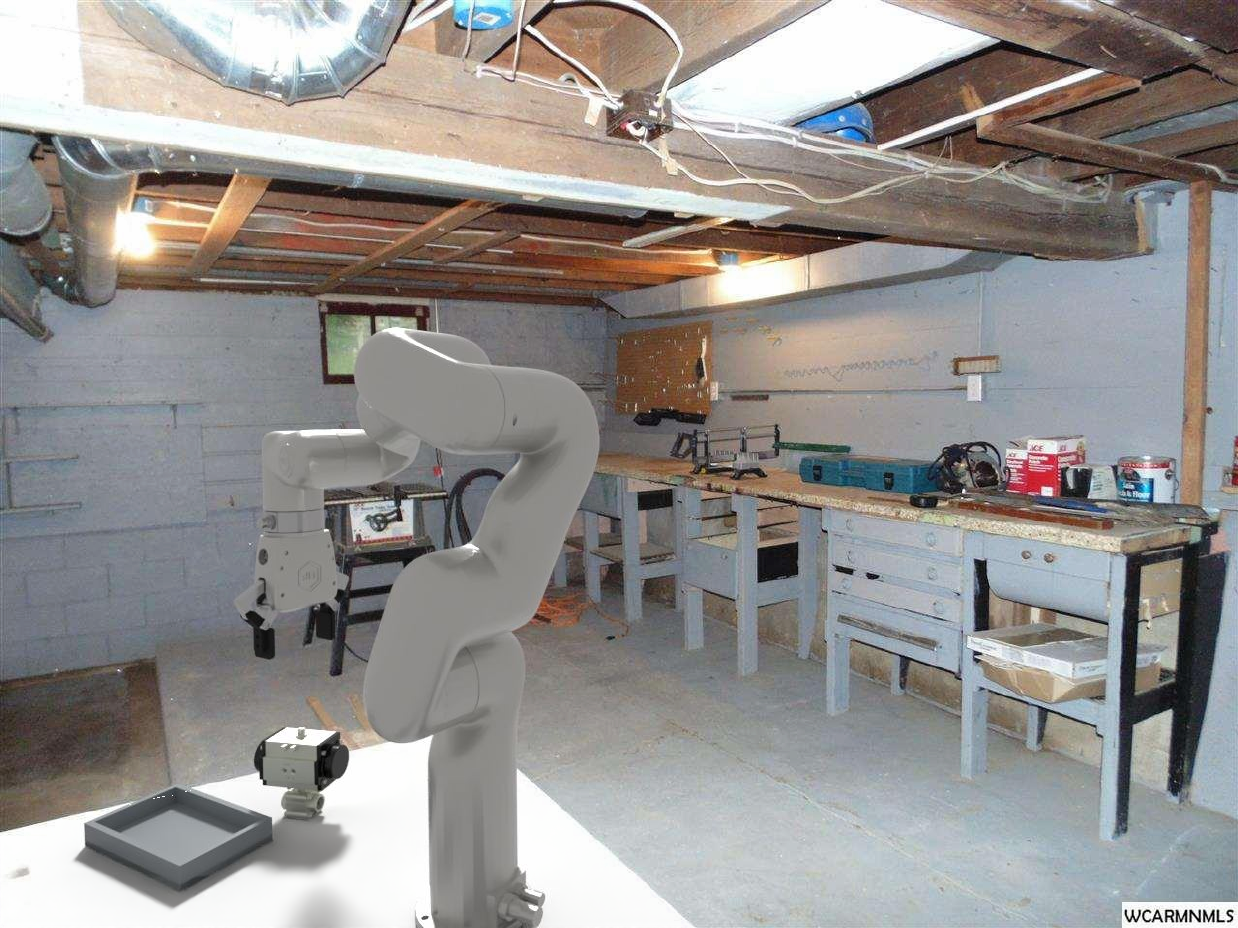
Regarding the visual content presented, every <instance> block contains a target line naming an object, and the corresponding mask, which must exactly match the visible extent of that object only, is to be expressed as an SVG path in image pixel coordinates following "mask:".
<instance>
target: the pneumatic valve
mask: <svg viewBox="0 0 1238 928" xmlns="http://www.w3.org/2000/svg"><path fill="white" fill-rule="evenodd" d="M342 741H343V739H342V738H341V731H330V730H318V729H308V728H306V727H302V726H301V727H298V728H297V727H296V728H295V727H284V726H283V727H282V728H280V729H278V730H277V731H275V732H273V733H272V734H270V735H268V736H267V737H265V738H264V739H262V740H261V742H260V743H259V744H258V746H257V747H256V749H255V752H254V755H253V765H254V769H255V770H256V771H258V773H259V780H262V785H263V786H266V787H267V786H268V787H277V788H286V789H287V791H285V792H284V794H283V795H282V796H281V801H280V807H281V808H282V809H283V810H284V813H283V815H284V817H285V818H286V819H287V818H288V819H295V820H307V821H308V820H309V819H311V818H312V817H313V815H314V814H317V813H320V811H322V810H323V808H324V805H325V802H326V800H325V796H324V794H323V793H321V792H323V791H324V790H325V789H327V787H329V786H330V785H331V784H333V783H334V782H335V781H336V780H339V779H341V778H343V776H344V774H345V773H346V771H347V768H348V766H349V761H350V750H349V748H348V746H346V745H345V744H342Z"/></svg>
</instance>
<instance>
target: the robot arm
mask: <svg viewBox="0 0 1238 928" xmlns="http://www.w3.org/2000/svg"><path fill="white" fill-rule="evenodd" d="M353 367H354V369H353V377H354V384H355V387H356V390H357V392H358V394H359V395H358V398H357V401H356V409H355V410H356V416H357V420H358V422H359V424H360V427H361V429H306V430H305V429H304V430H303V429H302V430H275V431H271V432H267V433H266V434H264V436H263V438H262V442H261V469H262V470H261V471H262V474H261V475H262V510H263V511H262V517H260V518H257V520H256V527H257V528H258V529H263V534H261V535H260V536H259V541H258V544H257V551H256V556H255V564H254V565H255V566H254V567H255V568H254V580H253V581H254V583H253V584H252V585H250V586H249V587H248V588H247V589H246V590H244V591H243V592H241V593H240V594H239V595H238V596H236V597H235V598H234V600H233V605H234V607H235V608H236V610H237V612H238V613H239V615H240V618H241V620H243V621H244V622H245V623H247V625H248V627H250V628H252V629H253V630H252V631H253V634H252V635H253V651H254V656H255V657H257V658H260V659H264V660H273V659H274V658H276V657H275V656H276V643H275V642H276V639H275V638H276V637H275V636H276V635H275V632H276V631H275V628H273V627H271V626H272V624H273V623H274V621H275V619H276V618H277V616H278V615H279V613H289V612H293V611H299V610H301V609H305V608H311V607H314V606H317V607H318V609H316V611H315V637H317V638H318V639H322V640H327V641H333V640H335V639H336V611H338V610H339V609H340V603H341V601H342V599H343V598H344V596H345V594H346V592H345V590H346V588H347V585H348V583H349V580H350V577H349V576H348V575H347V574H345V573H342V572H340V571H337V563H336V557H335V556H336V554H335V550H334V544H333V540H332V535H331V532H330V530H329V529H327V528H325V494H324V493H325V491H324V489H333V488H346V487H359V486H360V487H362V486H363V487H364V486H372V485H376V484H378V483H381V482H384V481H387V480H388V479H390V478H391V477H394V476H395V475H397V474H398V473H401V472H402V471H404V470H405V469H407V468H408V467H409V466H411V464H412V463H413V462H414V461H415V459H416V456H417V454H418V452H419V448H420V446H421V441H424V442H425V443H426V444H428V445H430V446H433V448H436V449H438V450H441V451H443V452H446V453H449V454H453V455H460V456H461V455H462V456H477V455H479V456H480V455H505V454H508V455H509V454H520V455H519V456H520V457H519V458H518V461H517V462H516V463H515V465H514V466H513V467H512V468H511V469H510V470H509V472H507V474H506V475H505V476H504V477H503V478H502V479H501V481H500V482H499V483H498V485H496V487H495V489H494V490H493V492H492V494H491V495H490V498H489V500H488V502H487V504H486V507H485V510H484V514H483V517H482V519H481V521H480V524H479V527H478V528H477V531H476V533H475V535H474V536H473V538H472V539H471V540H470V541H469V542H467V543H465V544H464V545H462V546H458V547H452V548H447V549H441V550H436V551H432V552H429V553H425V554H423V555H420V556H419V557H418V556H417V557H416V558H414V559H413V560H412V561H411V562H409V563H408V564H407V565H406V566H405V567H404V568H403V569H402V571H401V572H400V573H399V574H398V576H397V577H396V579H395V580H394V582H393V585H392V587H391V589H390V592H389V595H388V598H387V599H386V600H387V601H386V603H385V604H386V605H385V607H384V610H383V613H382V617H381V619H380V623H379V626H378V629H377V633H376V636H375V639H374V642H373V645H372V649H371V652H370V655H369V659H368V661H367V666H366V669H365V674H364V679H363V686H362V687H363V688H362V699H363V708H364V712H365V713H364V714H365V716H366V719H367V721H368V723H369V725H370V727H371V729H372V730H373V731H374V732H375V733H376V734H377V735H378V736H379V737H380V738H381V739H383V740H385V741H388V742H391V743H395V744H408V743H413V742H417V741H421V740H424V739H426V738H428V737H431V736H432V737H431V741H430V745H429V750H428V756H427V757H428V758H427V798H428V799H427V801H428V803H427V805H428V808H427V810H428V812H427V813H428V819H427V820H428V865H429V866H428V867H429V868H428V869H429V871H428V873H429V875H428V876H429V877H428V879H429V885H428V886H427V887H426V888H425V889H424V890H423V891H422V893H421V894H420V895H419V896H418V898H417V901H416V903H415V907H414V921H415V926H416V928H521V927H522V926H523V925H526V926H529V927H531V928H538V927H539V925H540V924H541V922H542V919H543V913H544V910H543V907H542V906H543V905H544V903H545V901H546V894H545V893H544V892H541V891H538V890H535V889H531V888H530V885H529V883H528V882H527V869H526V868H522V867H520V866H518V863H519V862H518V861H519V860H518V779H517V778H518V773H517V772H518V752H517V751H518V743H517V742H518V725H519V716H520V709H521V704H522V700H523V699H522V698H523V694H524V687H525V680H526V658H525V653H524V650H523V648H522V646H521V643H520V642H519V640H518V638H517V637H516V635H514V633H513V631H516V630H518V629H520V628H522V627H523V626H525V625H527V624H528V623H529V622H530V621H531V620H532V619H533V618H534V616H535V615H536V613H537V611H538V609H539V607H540V605H541V602H542V599H543V597H544V595H545V592H546V591H547V590H546V588H548V584H549V581H550V579H551V576H552V573H553V571H554V568H555V566H556V564H557V561H558V558H559V556H560V553H561V550H562V548H563V545H564V543H565V539H566V536H567V533H568V531H569V528H570V526H571V523H572V521H573V520H574V517H575V514H576V513H577V510H578V508H579V506H580V504H581V502H582V500H583V498H584V496H585V494H586V491H587V489H588V487H589V485H590V483H591V481H592V477H593V474H594V472H595V469H596V466H597V463H598V457H599V452H600V451H599V450H600V429H599V423H598V418H597V415H596V412H595V408H594V406H593V404H592V403H591V401H590V398H589V397H588V396H587V394H586V393H585V392H584V390H583V389H582V388H581V387H580V386H579V385H578V384H577V383H576V382H575V381H573V380H571V379H570V378H568V377H566V376H564V375H562V374H558V373H555V372H553V371H549V370H545V369H544V370H543V369H537V368H529V367H519V366H505V365H494V364H491V361H490V358H489V357H488V355H487V354H486V353H485V351H484V350H483V349H482V348H481V347H480V346H479V345H477V344H476V343H474V342H473V341H471V340H470V339H467V338H465V337H463V336H459V335H457V334H450V333H449V334H448V333H442V332H434V331H425V330H420V329H419V330H417V329H409V328H403V327H392V328H385V329H381V330H380V331H377V332H376V333H374V334H373V335H371V336H369V338H368V339H367V340H366V341H365V342H364V343H363V345H362V346H361V347H360V349H359V351H358V353H357V355H356V357H355V362H354V366H353ZM254 601H255V606H256V609H255V610H254V609H253V606H252V604H253V602H254Z"/></svg>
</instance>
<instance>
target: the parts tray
mask: <svg viewBox="0 0 1238 928" xmlns="http://www.w3.org/2000/svg"><path fill="white" fill-rule="evenodd" d="M190 790H191V791H190ZM185 791H187V792H185ZM172 795H173V796H172ZM162 796H165V797H162ZM157 797H160V798H157ZM153 798H155V799H153ZM129 804H131V805H129ZM83 825H84V846H85V847H86V848H88V849H90V850H92V851H94V852H96V853H98V854H101V855H102V856H105V855H106V856H105V857H107V858H109V859H111V860H113V861H115V862H118V863H119V864H122V865H123V866H126V867H128V868H130V869H133V870H134V871H135V872H136V871H137V872H138V873H141V874H142V875H145V876H146V877H149V878H151V879H152V880H155V881H157V882H159V883H160V884H163V885H166V886H168V887H170V888H172V889H174V890H175V891H178V892H181V893H182V892H183V891H185V890H186V889H188V888H190V887H192V886H193V885H195V884H197V883H199V882H201V881H202V880H204V879H206V878H208V877H210V876H211V875H213V874H215V873H217V872H218V871H220V870H222V869H224V868H226V867H228V866H230V865H231V864H233V863H235V862H237V861H238V860H240V859H242V858H243V857H246V856H247V855H249V854H251V853H253V852H255V851H256V850H258V849H260V848H262V847H263V846H265V845H267V844H269V843H270V842H273V841H274V839H273V837H274V836H273V835H274V834H273V817H272V816H268V815H267V814H263V813H261V812H258V811H255V810H253V809H250V808H247V807H244V806H242V805H239V804H236V803H233V802H230V801H228V800H225V799H222V798H219V797H217V796H214V795H211V794H209V793H207V792H203V791H201V790H197V789H194V788H192V787H190V786H186V785H184V784H181V783H175V784H173V785H170V786H168V787H166V788H163V789H161V790H158V791H155V792H154V793H152V794H151V793H150V795H146V796H145V797H143V798H140V799H138V800H136V801H133V802H130V803H127V804H126V805H123V806H121V807H119V808H116V809H114V810H112V811H110V812H107V813H105V814H103V815H99V816H97V817H96V818H93V819H91V820H88V821H86V822H84V823H83Z"/></svg>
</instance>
